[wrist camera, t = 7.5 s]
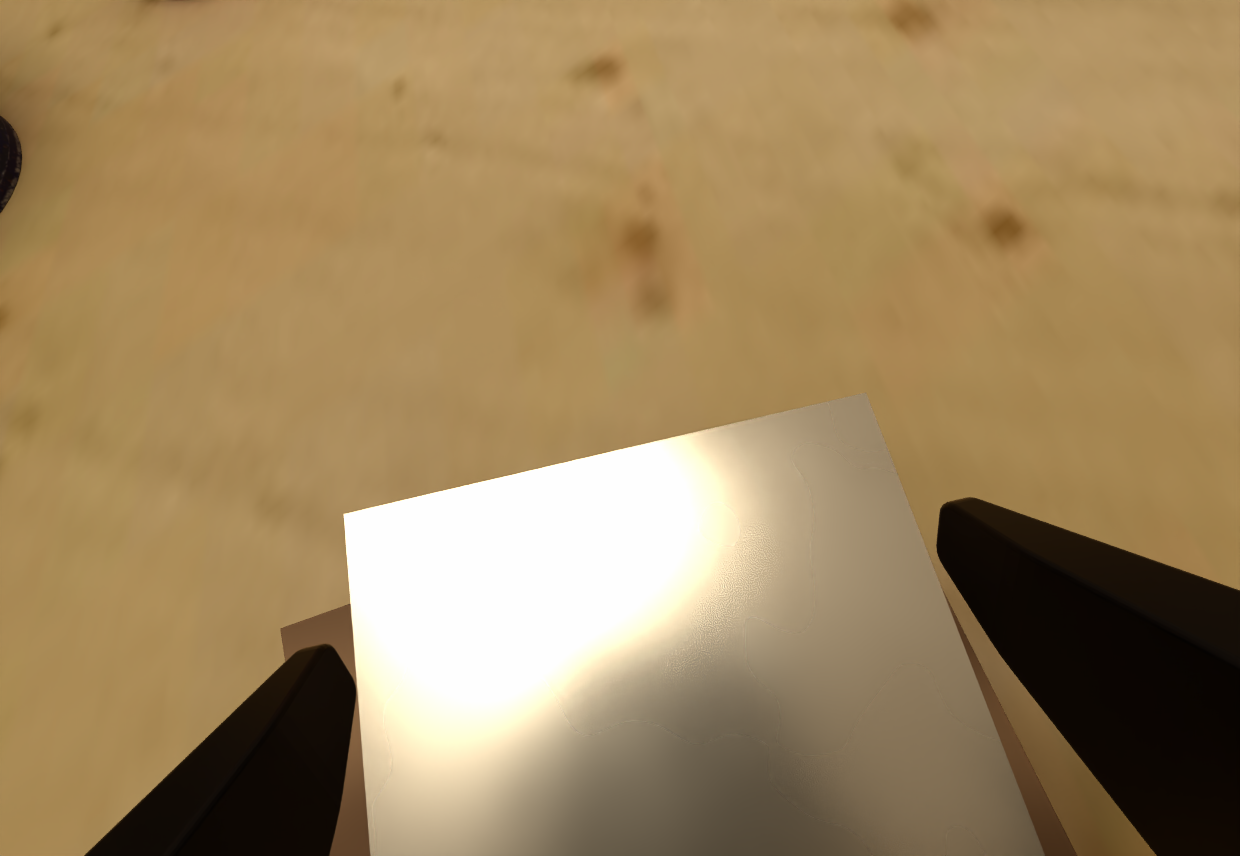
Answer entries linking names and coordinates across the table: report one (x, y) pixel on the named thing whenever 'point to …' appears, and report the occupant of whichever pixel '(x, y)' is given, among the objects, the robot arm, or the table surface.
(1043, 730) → the table surface
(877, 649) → the block
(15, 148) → the dark ridged cylinder
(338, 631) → the stand
